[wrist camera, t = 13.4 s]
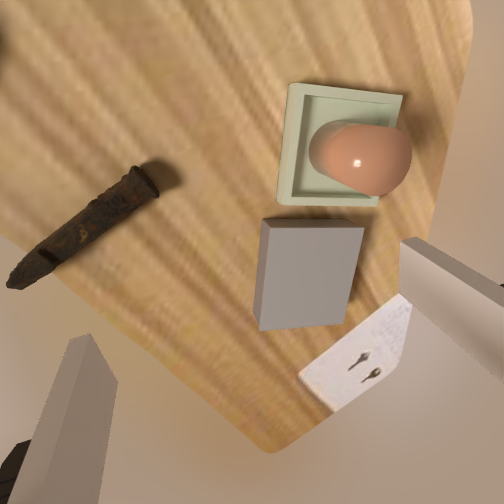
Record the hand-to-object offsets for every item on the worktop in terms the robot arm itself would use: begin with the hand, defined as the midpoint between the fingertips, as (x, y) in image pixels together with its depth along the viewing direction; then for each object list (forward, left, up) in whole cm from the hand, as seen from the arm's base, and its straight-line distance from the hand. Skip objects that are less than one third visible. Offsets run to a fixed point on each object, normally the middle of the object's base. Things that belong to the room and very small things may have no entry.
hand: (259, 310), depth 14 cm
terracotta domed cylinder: (-4, +16, -27) cm, 32 cm away
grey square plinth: (+12, +15, -27) cm, 33 cm away
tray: (-4, +17, -27) cm, 32 cm away
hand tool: (+6, -12, -28) cm, 31 cm away
